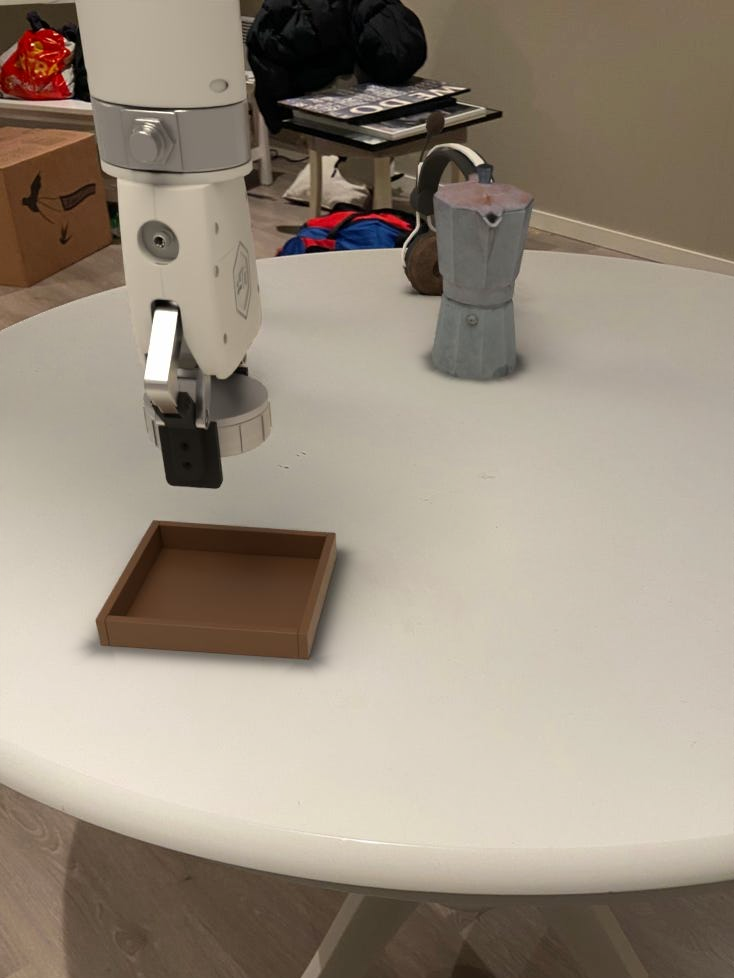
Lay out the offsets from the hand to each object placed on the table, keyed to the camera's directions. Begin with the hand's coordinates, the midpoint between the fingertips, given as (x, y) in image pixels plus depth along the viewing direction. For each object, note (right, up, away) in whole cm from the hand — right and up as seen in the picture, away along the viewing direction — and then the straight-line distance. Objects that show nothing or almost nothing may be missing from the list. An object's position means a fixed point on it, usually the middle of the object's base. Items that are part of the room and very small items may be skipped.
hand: (212, 452), depth 61 cm
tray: (-1, -9, +7) cm, 12 cm away
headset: (+13, +28, +57) cm, 65 cm away
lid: (0, +3, -2) cm, 3 cm away
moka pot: (+16, +17, +43) cm, 49 cm away
